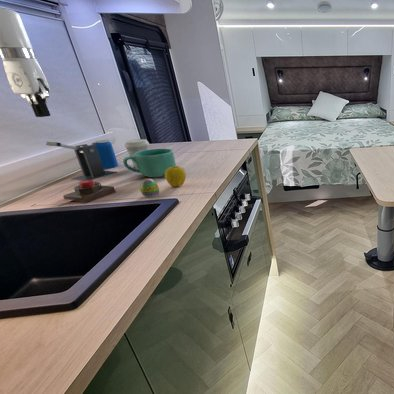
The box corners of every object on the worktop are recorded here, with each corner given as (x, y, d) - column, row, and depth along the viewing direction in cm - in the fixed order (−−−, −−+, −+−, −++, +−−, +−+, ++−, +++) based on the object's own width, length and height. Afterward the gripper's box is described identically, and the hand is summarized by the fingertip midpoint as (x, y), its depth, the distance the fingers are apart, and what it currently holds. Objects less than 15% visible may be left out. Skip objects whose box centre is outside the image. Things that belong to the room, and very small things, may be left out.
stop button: (86, 188, 91) (84, 183, 90) (77, 187, 92) (75, 182, 91) (97, 185, 94) (95, 179, 94) (89, 184, 95) (87, 179, 94)
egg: (143, 200, 91) (137, 182, 89) (142, 195, 95) (137, 178, 93) (161, 196, 94) (156, 179, 92) (159, 192, 98) (155, 175, 95)
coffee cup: (130, 172, 120) (121, 143, 115) (133, 167, 127) (125, 140, 122) (154, 169, 124) (147, 141, 119) (156, 164, 131) (148, 138, 126)
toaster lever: (56, 147, 99) (57, 140, 99) (45, 146, 100) (46, 139, 100) (94, 154, 110) (95, 148, 110) (84, 153, 111) (85, 147, 111)
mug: (179, 169, 123) (173, 147, 120) (176, 177, 113) (170, 153, 109) (132, 174, 117) (125, 151, 113) (125, 183, 106) (117, 158, 103)
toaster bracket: (89, 183, 108) (77, 149, 103) (71, 181, 110) (58, 148, 105) (118, 174, 117) (108, 143, 113) (101, 173, 120) (90, 142, 115)
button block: (84, 204, 89) (79, 191, 88) (65, 201, 91) (60, 189, 89) (116, 192, 98) (112, 181, 97) (98, 190, 100) (94, 179, 98)
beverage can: (103, 167, 127) (94, 140, 122) (121, 166, 129) (112, 139, 124) (97, 171, 121) (87, 143, 117) (116, 170, 123) (106, 142, 119)
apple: (171, 190, 99) (166, 168, 96) (165, 186, 103) (159, 164, 100) (191, 185, 104) (186, 164, 101) (184, 182, 107) (179, 161, 104)
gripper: (-15, 55, 88) (13, 117, 95) (20, 53, 84) (46, 118, 91) (17, 57, 95) (41, 114, 102) (50, 55, 91) (72, 115, 98)
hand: (43, 116), depth 96 cm, fingers closed
